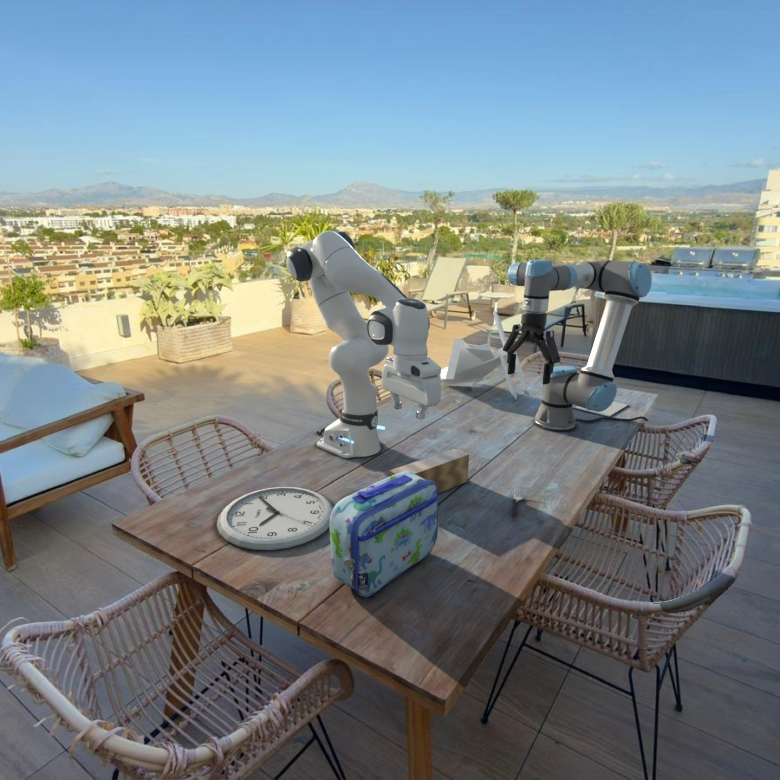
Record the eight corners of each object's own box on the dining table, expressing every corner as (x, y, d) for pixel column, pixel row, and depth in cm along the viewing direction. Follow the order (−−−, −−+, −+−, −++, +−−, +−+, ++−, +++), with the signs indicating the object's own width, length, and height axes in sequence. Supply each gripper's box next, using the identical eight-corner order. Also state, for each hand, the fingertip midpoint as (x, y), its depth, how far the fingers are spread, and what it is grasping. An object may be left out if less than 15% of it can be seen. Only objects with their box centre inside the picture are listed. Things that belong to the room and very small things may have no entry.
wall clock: (333, 542, 123) (202, 546, 121) (333, 547, 124) (203, 552, 121) (335, 482, 152) (229, 485, 149) (335, 487, 152) (230, 490, 150)
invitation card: (608, 416, 214) (573, 407, 224) (608, 416, 214) (573, 408, 224) (628, 404, 229) (594, 396, 238) (628, 405, 229) (594, 397, 238)
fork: (507, 519, 137) (507, 512, 137) (515, 491, 152) (515, 485, 151) (517, 521, 136) (518, 514, 136) (524, 493, 151) (524, 487, 150)
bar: (454, 474, 162) (455, 448, 159) (467, 481, 157) (469, 454, 155) (388, 499, 146) (389, 470, 144) (401, 507, 142) (402, 478, 140)
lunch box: (357, 610, 104) (357, 517, 98) (324, 584, 111) (322, 496, 105) (442, 556, 121) (446, 474, 115) (408, 536, 129) (411, 459, 122)
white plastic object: (461, 429, 252) (437, 405, 227) (444, 352, 274) (420, 323, 250) (535, 404, 240) (518, 377, 215) (510, 326, 262) (492, 293, 237)
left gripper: (376, 356, 141) (375, 405, 145) (427, 373, 125) (425, 427, 129) (394, 353, 144) (393, 401, 149) (446, 369, 129) (443, 421, 133)
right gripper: (495, 307, 167) (490, 371, 173) (562, 318, 148) (554, 390, 155) (510, 305, 171) (505, 368, 178) (577, 316, 153) (569, 385, 159)
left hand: (408, 413), depth 139 cm, fingers open, 8 cm apart
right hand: (527, 378), depth 166 cm, fingers open, 13 cm apart
